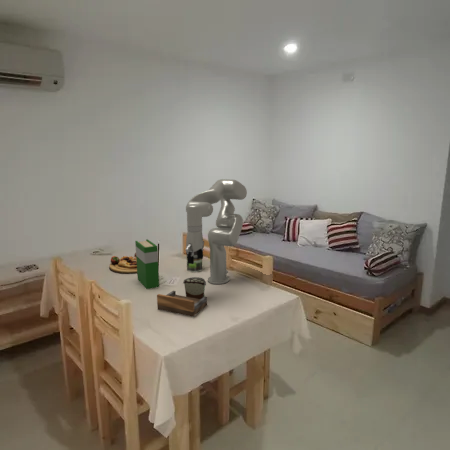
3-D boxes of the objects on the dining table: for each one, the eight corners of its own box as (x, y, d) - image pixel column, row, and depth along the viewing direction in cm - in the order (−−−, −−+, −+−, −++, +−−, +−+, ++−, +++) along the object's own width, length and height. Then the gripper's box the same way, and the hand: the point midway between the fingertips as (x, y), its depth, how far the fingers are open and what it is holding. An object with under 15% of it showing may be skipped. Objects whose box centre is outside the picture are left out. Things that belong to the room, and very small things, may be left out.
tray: (173, 298, 189) (172, 285, 188) (207, 305, 181) (206, 291, 179) (157, 309, 177) (156, 294, 175) (193, 316, 168) (192, 301, 167)
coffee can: (200, 272, 228) (199, 251, 225) (184, 271, 231) (183, 250, 228) (204, 267, 238) (204, 246, 235) (189, 266, 240) (189, 246, 238)
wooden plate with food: (100, 273, 230) (99, 260, 228) (122, 257, 261) (122, 246, 259) (147, 276, 225) (147, 264, 223) (165, 260, 255) (164, 249, 254)
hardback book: (137, 279, 217) (135, 240, 212) (149, 277, 221) (147, 239, 216) (146, 289, 202) (144, 247, 197) (159, 286, 206) (157, 246, 201)
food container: (209, 295, 192) (209, 278, 190) (205, 300, 187) (205, 282, 184) (187, 293, 196) (187, 276, 194) (183, 298, 190) (183, 280, 188)
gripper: (196, 224, 193) (197, 255, 196) (179, 231, 177) (180, 264, 181) (209, 225, 189) (209, 257, 193) (192, 232, 174) (193, 266, 178)
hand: (195, 260), depth 187 cm, fingers open, 9 cm apart
